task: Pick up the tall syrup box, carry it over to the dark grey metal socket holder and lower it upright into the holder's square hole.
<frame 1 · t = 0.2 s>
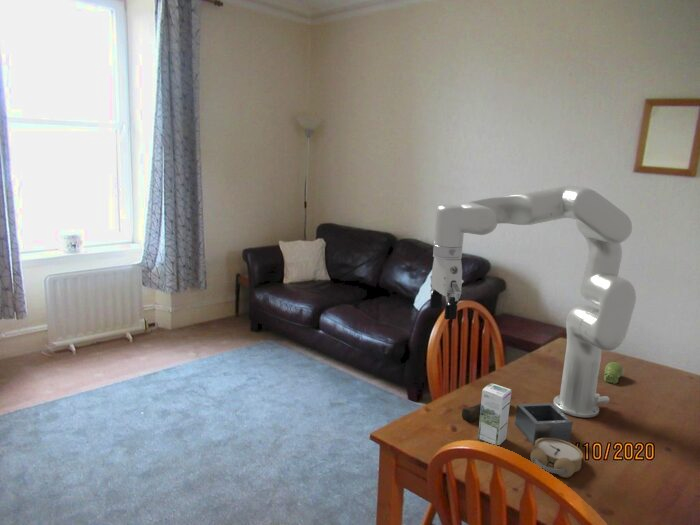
hand: (442, 313, 141), 31 cm above the table, tool pointing down, fingers open, 9 cm apart
alarm clock: (554, 465, 127), on the table
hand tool: (486, 413, 152), on the table
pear: (611, 379, 177), on the table
socket holder: (541, 433, 141), on the table
syrup box: (491, 439, 137), on the table
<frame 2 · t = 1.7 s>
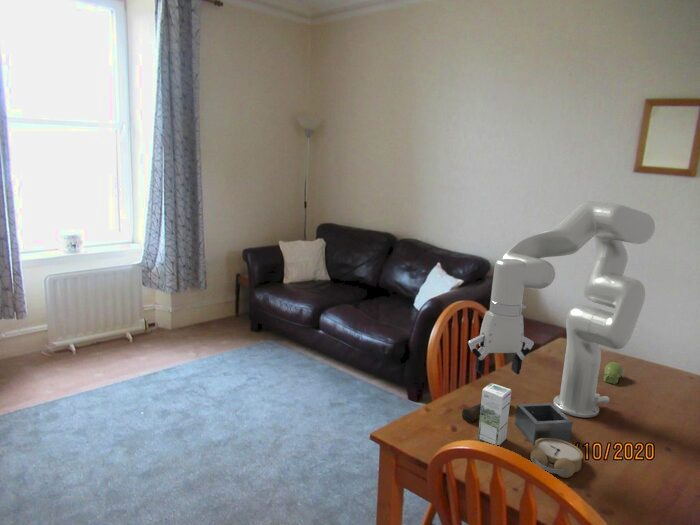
hand: (497, 372, 133), 19 cm above the table, tool pointing down, fingers open, 9 cm apart
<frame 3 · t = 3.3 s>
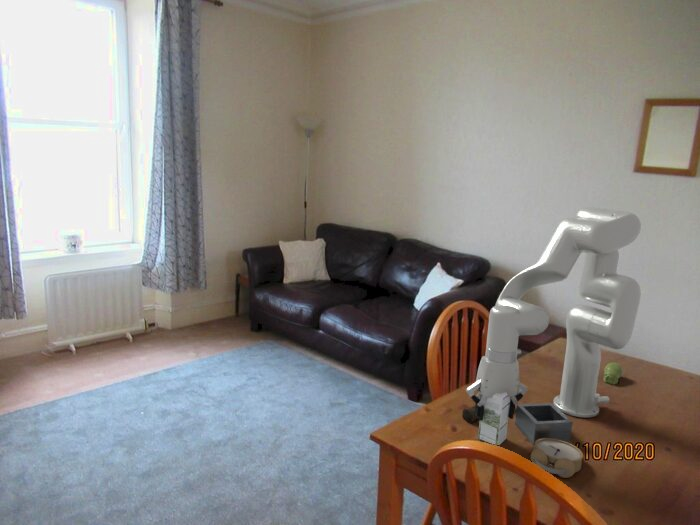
hand: (494, 416, 136), 7 cm above the table, tool pointing down, fingers closed on syrup box, 7 cm apart
syrup box: (491, 439, 137), on the table, touching gripper
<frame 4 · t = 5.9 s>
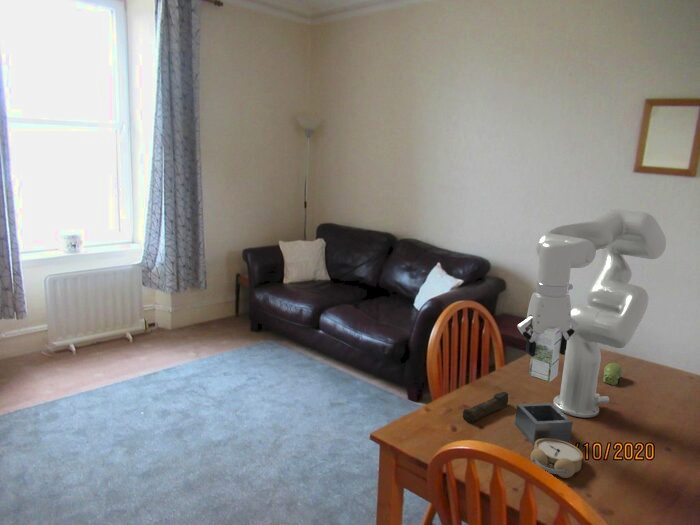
hand: (545, 353, 136), 23 cm above the table, tool pointing down, fingers closed on syrup box, 7 cm apart
syrup box: (543, 376, 138), point 16 cm above the table, touching gripper
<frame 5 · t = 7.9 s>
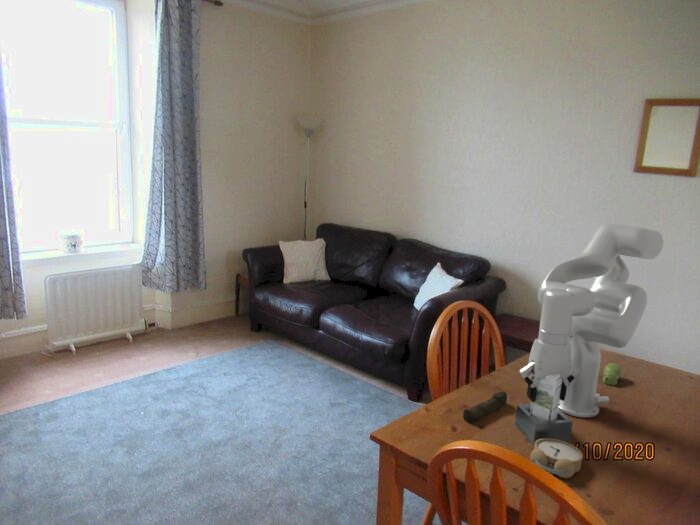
hand: (545, 398, 139), 10 cm above the table, tool pointing down, fingers closed on syrup box, 7 cm apart
syrup box: (542, 421, 140), point 4 cm above the table, touching gripper
when the fingers open (9 cm above the table, at t = 8.8 s): syrup box drops 1 cm, resting on socket holder.
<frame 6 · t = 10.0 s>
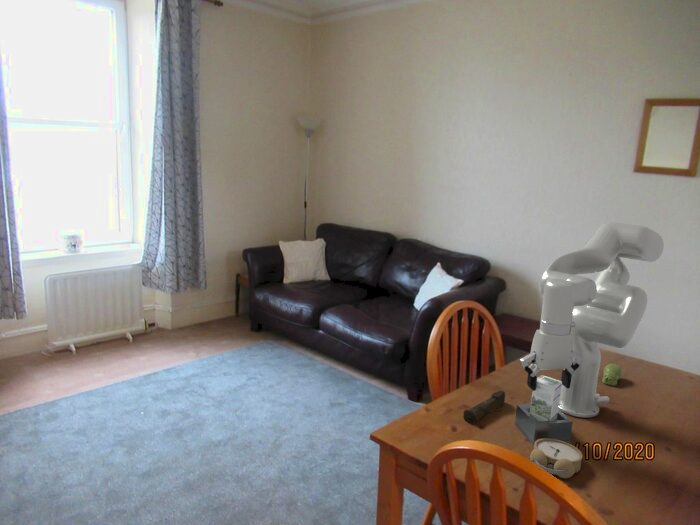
hand: (548, 387, 139), 13 cm above the table, tool pointing down, fingers open, 9 cm apart
syrup box: (541, 430, 141), point 1 cm above the table, touching gripper, socket holder
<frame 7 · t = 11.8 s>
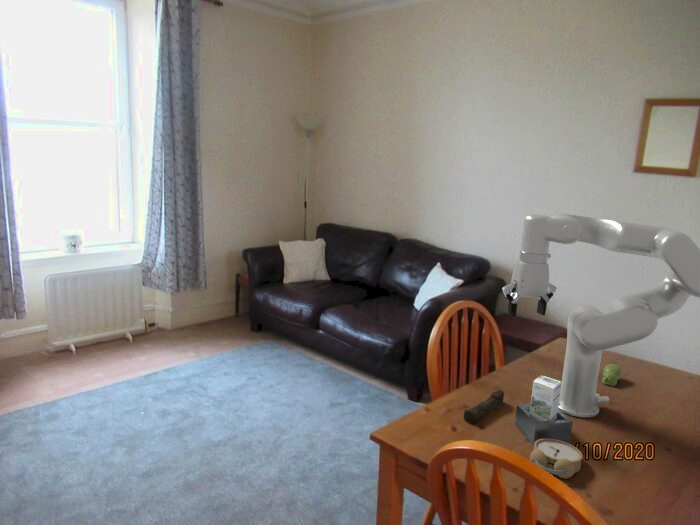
hand: (526, 314, 153), 28 cm above the table, tool pointing down, fingers open, 9 cm apart
syrup box: (541, 430, 141), point 1 cm above the table, touching socket holder
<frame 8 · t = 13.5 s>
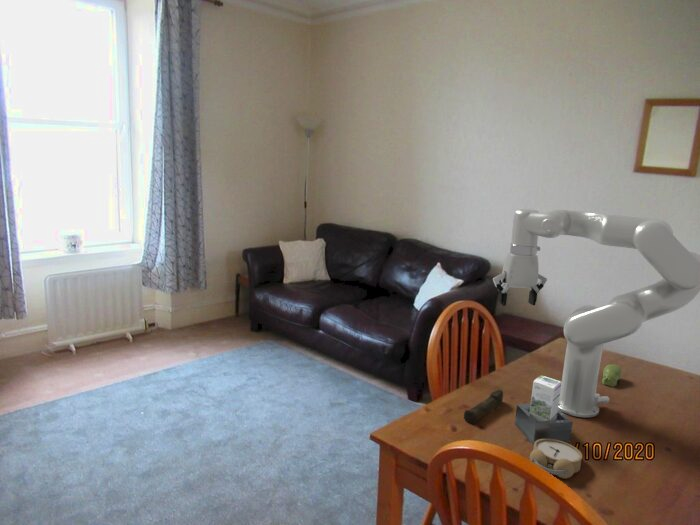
hand: (517, 304, 161), 28 cm above the table, tool pointing down, fingers open, 9 cm apart
at the end: syrup box 0.2 cm off-centre on the socket holder, point 0.8 cm above the socket holder's base; syrup box tilted 0°; the gripper is holding nothing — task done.
